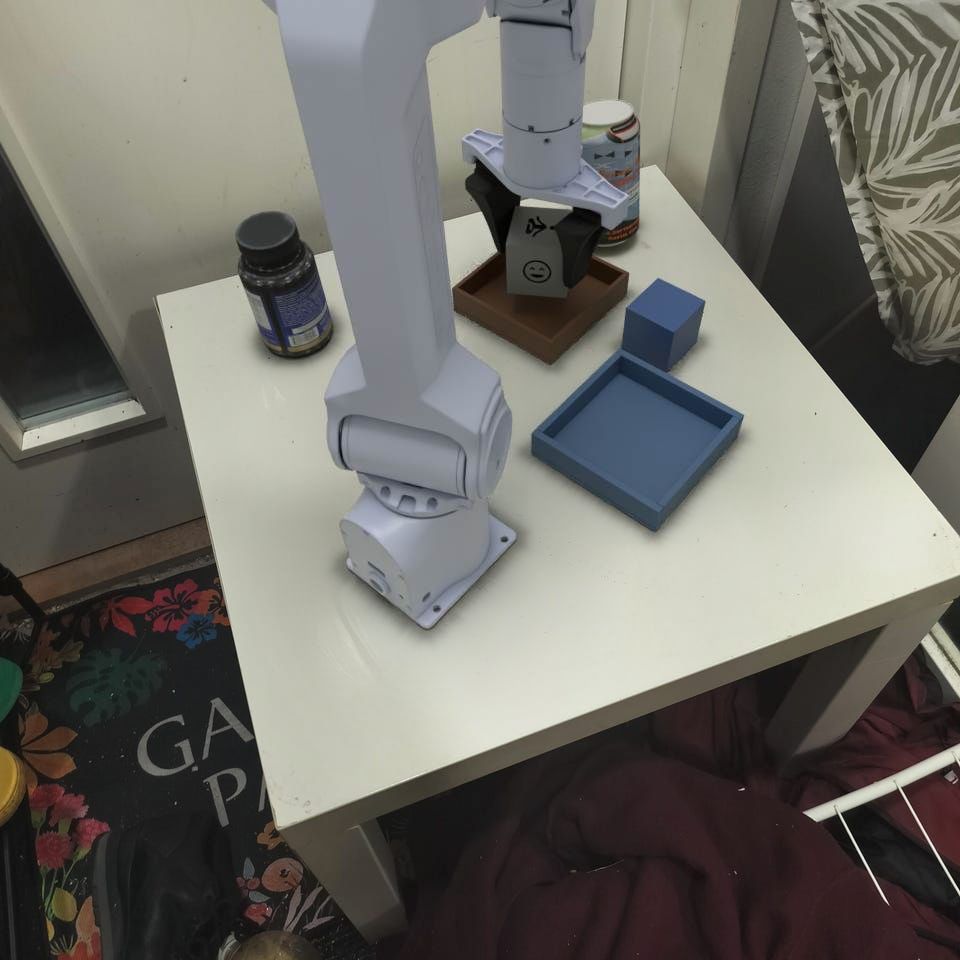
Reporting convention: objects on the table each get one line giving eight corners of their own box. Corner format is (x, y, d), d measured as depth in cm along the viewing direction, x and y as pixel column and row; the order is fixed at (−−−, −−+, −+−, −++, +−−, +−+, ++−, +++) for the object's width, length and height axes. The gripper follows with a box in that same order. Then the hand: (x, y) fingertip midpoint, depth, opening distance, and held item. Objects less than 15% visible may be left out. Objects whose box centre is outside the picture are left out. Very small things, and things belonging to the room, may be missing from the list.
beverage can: (604, 266, 76) (614, 145, 66) (549, 228, 80) (552, 109, 70) (653, 235, 78) (670, 114, 69) (597, 200, 82) (606, 81, 72)
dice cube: (516, 254, 73) (515, 205, 69) (573, 259, 73) (576, 209, 68) (507, 293, 70) (505, 244, 66) (566, 298, 70) (568, 249, 66)
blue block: (666, 372, 68) (674, 332, 64) (620, 348, 70) (625, 307, 66) (697, 341, 70) (705, 300, 66) (651, 318, 72) (658, 277, 68)
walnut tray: (550, 365, 69) (551, 343, 67) (453, 310, 74) (451, 288, 72) (627, 294, 74) (629, 272, 72) (531, 246, 78) (531, 224, 76)
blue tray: (654, 532, 59) (659, 512, 57) (530, 453, 64) (530, 433, 62) (738, 435, 64) (744, 414, 62) (617, 369, 69) (619, 347, 67)
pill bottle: (340, 311, 74) (313, 205, 65) (326, 361, 71) (296, 256, 62) (272, 309, 75) (237, 203, 66) (255, 358, 71) (215, 254, 62)
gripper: (661, 118, 58) (640, 273, 69) (500, 55, 64) (505, 207, 75) (600, 167, 55) (589, 320, 66) (437, 96, 61) (452, 248, 72)
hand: (540, 263), depth 70 cm, fingers closed on dice cube, 6 cm apart
